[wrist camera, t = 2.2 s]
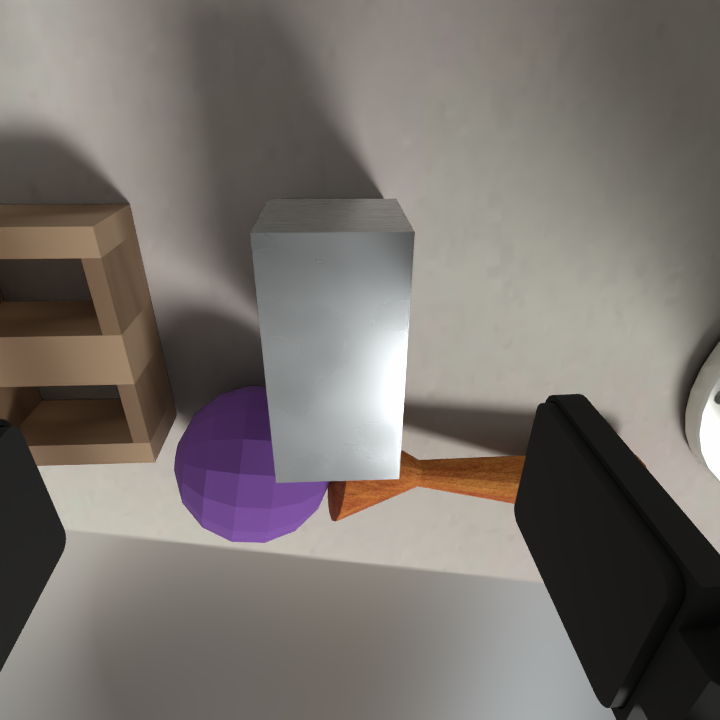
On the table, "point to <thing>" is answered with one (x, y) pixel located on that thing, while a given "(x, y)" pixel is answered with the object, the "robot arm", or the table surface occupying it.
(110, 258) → the wooden frame
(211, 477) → the kendama
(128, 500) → the table surface
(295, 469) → the steel brick
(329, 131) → the table surface
